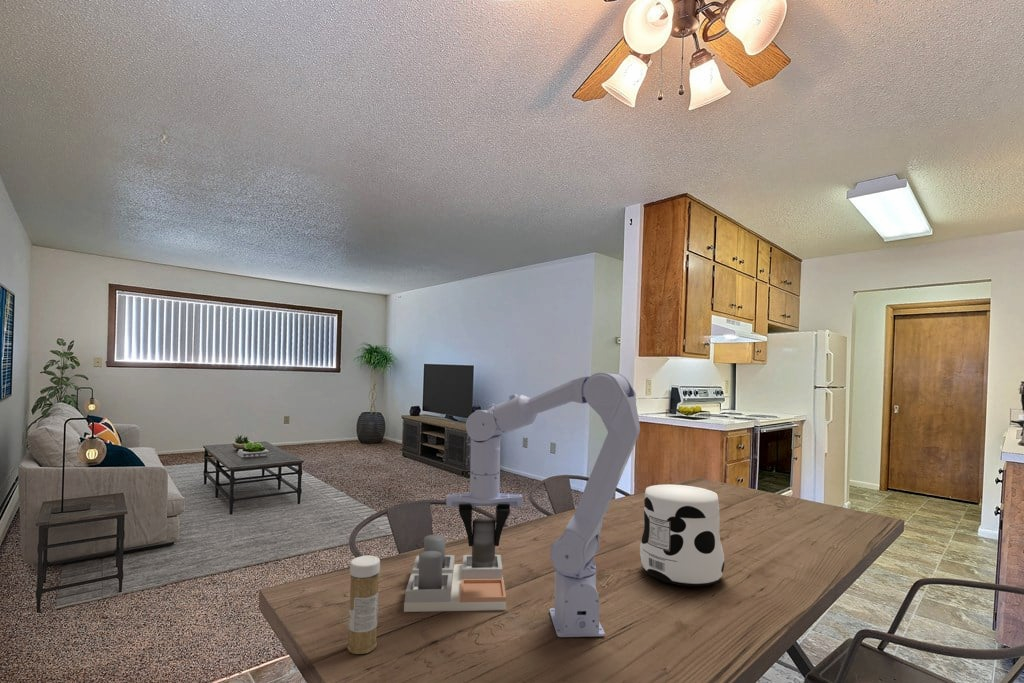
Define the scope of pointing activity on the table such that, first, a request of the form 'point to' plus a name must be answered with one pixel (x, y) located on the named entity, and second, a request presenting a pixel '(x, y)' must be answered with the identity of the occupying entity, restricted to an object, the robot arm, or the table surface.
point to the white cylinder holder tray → (453, 582)
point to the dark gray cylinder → (483, 540)
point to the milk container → (682, 535)
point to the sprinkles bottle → (363, 604)
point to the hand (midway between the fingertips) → (483, 544)
